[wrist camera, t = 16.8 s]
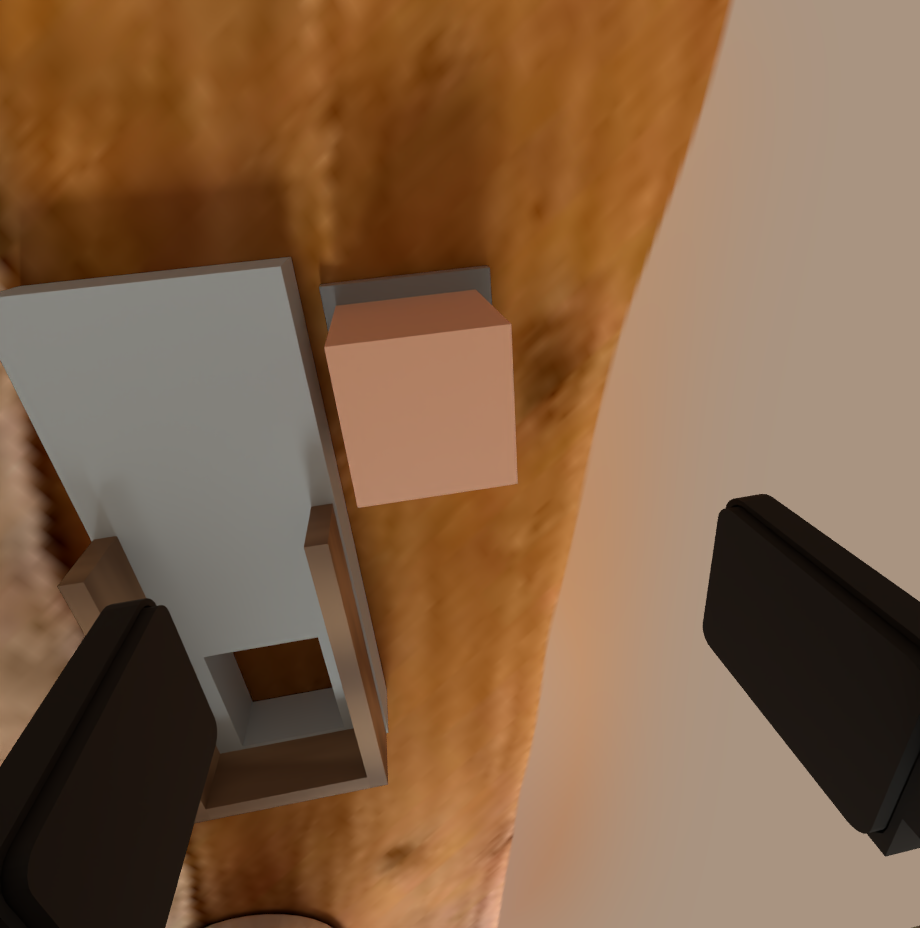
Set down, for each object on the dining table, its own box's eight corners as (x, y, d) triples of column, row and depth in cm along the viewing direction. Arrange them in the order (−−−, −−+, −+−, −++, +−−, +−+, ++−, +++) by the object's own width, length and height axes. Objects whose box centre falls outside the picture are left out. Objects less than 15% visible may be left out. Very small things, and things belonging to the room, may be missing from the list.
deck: (386, 690, 29) (388, 732, 27) (218, 722, 28) (205, 767, 26) (290, 256, 18) (280, 266, 16) (19, 286, 18) (-30, 300, 15)
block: (484, 417, 22) (517, 483, 17) (360, 434, 21) (357, 507, 16) (475, 289, 19) (511, 323, 14) (335, 305, 19) (324, 347, 14)
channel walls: (386, 733, 27) (387, 784, 24) (207, 767, 26) (192, 823, 24) (332, 503, 20) (328, 543, 18) (94, 539, 19) (57, 586, 17)
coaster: (495, 416, 22) (498, 422, 22) (351, 436, 22) (350, 443, 21) (486, 265, 20) (489, 267, 19) (320, 284, 19) (319, 287, 18)
